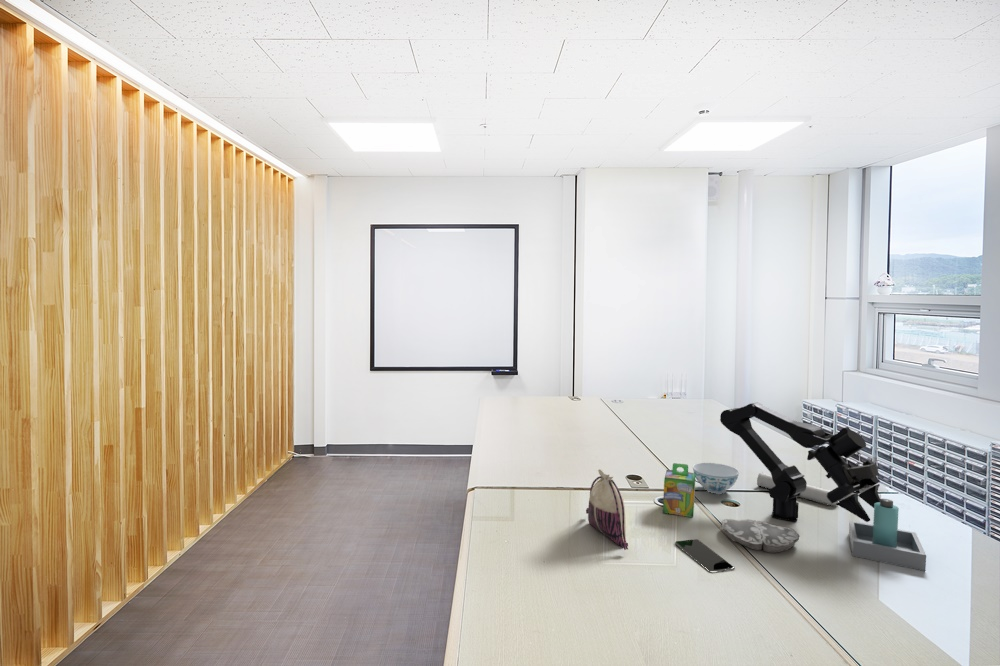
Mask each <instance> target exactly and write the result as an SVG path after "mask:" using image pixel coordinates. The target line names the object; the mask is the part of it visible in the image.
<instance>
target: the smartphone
mask: <svg viewBox="0 0 1000 666" xmlns="http://www.w3.org/2000/svg"><path fill="white" fill-rule="evenodd" d="M674 545H676V547H678V546H679V547H680V548H681V549H683V550H684V551H685V552H687V553H688V554H689V555H691V556H692V557H693V558H694V559H695V560H697V561H698V562H699V563H700V564H702V565H703V566H704V567H706V568H707V569H708V570H709V571H722V572H726V571H725V570H731V571H735V570H734V569H736V568H735V566H733V565H732V564H731V563H729V561H727V560H726V559H724V558H723V557H721V556H720V555H719V554H718V553H716V552H715V551H714V550H712V549H711V548H710V547H708V546H707V545H706V544H704V543H703V542H702V541H701V540H699V539H697V538H695V539H684V540H677V541H675V542H674ZM679 547H678V548H679ZM680 548H679V549H680ZM681 549H680V550H681ZM683 550H682V551H683ZM684 551H683V552H684ZM685 552H684V553H685ZM688 554H687V555H688ZM689 555H688V556H689ZM694 559H693V560H694ZM695 560H694V561H695ZM700 564H699V565H700Z"/></svg>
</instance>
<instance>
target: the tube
mask: <svg viewBox="0 0 1000 666" xmlns="http://www.w3.org/2000/svg"><path fill="white" fill-rule="evenodd" d="M756 485H757V487H759V486H761V487H760V488H764V487H765V488H764V489H767V488H768V490H770V489H771V488H773V487H774V486H775V484H774V482H773V479H772V475H771V474H767V473H764V472H763V471H762V472H758V476H757V478H756ZM806 486H807V487H806V490H805V491H804V492H802V493H801V494H800V496H799V497H798V498H800V497H801V499H804V498H805V499H804V500H808V499H809V500H808V501H811V500H813V501H812V502H815V501H817V502H816V503H818V502H820V503H819V504H822V503H824V504H823V505H826V504H828V505H827V506H829V505H831V506H830V507H835V506H837V505H836V503H838V502H839V501H837V502H835V503H833V504H832V503H831V502H830V501H829V500H828V498H827V493H828V492H830V491H831V490H829V489H825V488H822V487H818V486H814V485H810V484H806Z"/></svg>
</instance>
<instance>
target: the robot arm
mask: <svg viewBox="0 0 1000 666" xmlns="http://www.w3.org/2000/svg"><path fill="white" fill-rule="evenodd" d="M719 416H720V419H719V421H720V423H721V425H723V426H724V428H726V429H727V430H728V431H730V432H732V433H733V434H735V435H737V436H739V437H740V438H741V440H742V441H743V442H744V444H746V446H747V447H748V448H749V449H750V450H751V451H752V453H753V454H754V455H755V456H756V458H757V459H759V461H760V462H761V463H762V464H763V466H764V467H765V468H766V469H767V470H768V471H769V473H770V475H772V479H773V482H774V484H775V486H774V487H773V488H771V489H768V494H769V495H768V496H769V497H770V498H771V499H772V513H771V518H773V519H779V520H784V521H788V522H797V519H798V518H799V502H797V498H800V497H799V496H800V494H801V493H802V492H804V491H805V490H806V487H807V486H806V485H808V483H807V480H806V479H805V475H804V474H803V473H801V471H800V470H799V469H798V467H797V466H796V465H789V466H788V465H786V464H785V463H784V462H783V461H782V460H781V459H780V458H779V457H778V455H777V454H776V453H775V452H774V451H773V450H772V449H771V447H770V446H769V445H768V444H767V443H766V441H764V440H763V438H762V437H761V436H760V435H759V434H758V433H757V431H755V430H754V428H753V426H752V422H751V419H752V418H756V419H757V420H760V421H762V422H764V423H766V424H768V425H770V426H771V427H773V428H775V429H777V430H780V431H782V432H784V433H786V434H787V435H788V436H790V438H791V439H792V440H793V441H794V442H796V443H797V444H799V445H800V446H801V447H803V448H806V449H809V450H808V451H807V453H808V454H807V457H806V460H807V461H811V460H817V463H819V465H821V467H822V468H823V470H824V471H825V472H826V473H827V474H825V477H826V478H827V479H831V480H832V481H833V482H834V483H835V485H836V486H837V487H835V488H834V489H832V490H830V492H828V493H827V498H828V500H829V501H830V502H831V503H832V504H833V503H835V502H837V501H838V502H837V503H836V506H839V507H840V508H842V509H844V510H846V511H848V512H850V513H851V514H853V515H854V516H856V517H857V518H860V519H861V520H863V521H864V522H866V523H869V522H870V521H871V518H870V515H868V513H867V512H866V509H864V507H863V506H862V504H861V503H860V501H859V498H860V499H861V500H863V501H864V502H865V503H866V504H868V505H869V506H870V507H872V508H873V509H874V503H877V502H880V499H881V498H880V495H879V493H878V492H879V487H880V482H881V480H880V479H879V478H878V476H880V472H879V469H880V466H879V465H877V463H875V462H874V461H873V460H872V459H869V460H865V461H862V465H859V466H858V465H857V466H854V464H853V463H850V462H848V463H847V462H846V460H844V458H846V459H847V458H850V457H852V456H853V455H855V454H857V453H859V452H861V451H862V450H863V449H865V448H866V447H867V443H866V441H865V439H864V437H862V436H861V435H860V434H859V433H858V432H856V431H854V430H852V429H851V428H850V427H848V426H845V427H842V429H840V430H839V431H838V432H837V433H835V434H832V433H829V432H827V431H825V430H824V429H823V428H821V427H820V426H817V425H813V424H812V423H807V422H801V421H797V420H794V419H792V418H790V417H788V416H786V415H784V414H782V413H779V412H777V411H776V410H773V409H771V408H770V407H768V406H765V405H763V404H762V403H760V402H754V403H753V402H752V403H749V404H747V405H744V406H741V407H735V408H729V409H725V410H723V411H721V413H720V415H719ZM827 444H828V445H827ZM823 445H827V446H823ZM818 446H819V447H818ZM815 447H818V448H816V449H814V450H813V449H811V448H815ZM843 457H844V458H843Z"/></svg>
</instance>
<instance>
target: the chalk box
mask: <svg viewBox="0 0 1000 666" xmlns="http://www.w3.org/2000/svg"><path fill="white" fill-rule="evenodd" d="M678 468H682V469H683V471H682V470H678ZM663 479H664V480H663V481H664V483H663V497H662V498H663V503H662V505H663V506H662V513H663V514H668V513H669V514H670V515H677V516H681V517H687V518H693V517H694V514H695V513H694V510H695V499H696V498H695V496H696V495H695V494H696V493H695V492H696V475H695V473H694V472H691V471H689V465H688V463H687V464H686V463H675V462H674V463H672V469H666V471H665V475H664V478H663ZM669 514H668V515H669Z"/></svg>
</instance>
